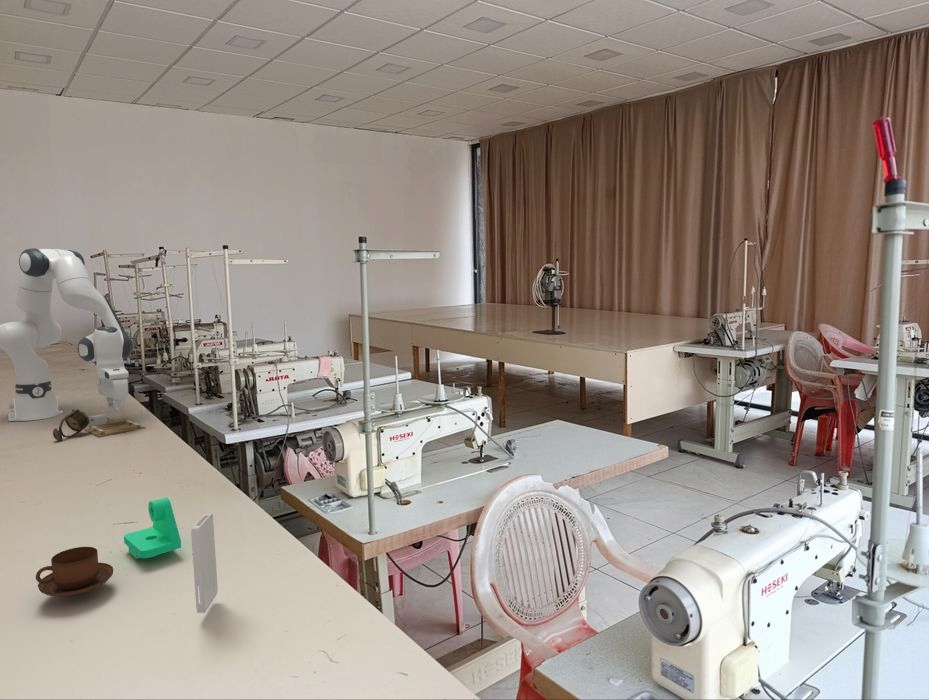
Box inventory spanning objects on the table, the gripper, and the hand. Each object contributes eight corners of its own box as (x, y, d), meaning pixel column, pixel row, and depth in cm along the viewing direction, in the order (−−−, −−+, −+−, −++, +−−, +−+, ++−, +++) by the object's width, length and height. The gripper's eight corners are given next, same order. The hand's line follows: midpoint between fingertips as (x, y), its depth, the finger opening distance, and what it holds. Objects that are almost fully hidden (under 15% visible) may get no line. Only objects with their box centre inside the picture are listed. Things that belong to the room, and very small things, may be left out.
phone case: (210, 593, 118) (205, 512, 116) (218, 592, 118) (213, 512, 116) (196, 614, 111) (190, 529, 109) (204, 614, 111) (198, 528, 109)
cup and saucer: (61, 609, 113) (58, 575, 112) (25, 592, 119) (22, 560, 118) (127, 580, 123) (125, 549, 123) (91, 566, 129) (88, 536, 129)
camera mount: (123, 546, 139) (119, 500, 138) (160, 536, 144) (157, 491, 143) (142, 564, 130) (138, 514, 129) (181, 552, 136) (178, 504, 134)
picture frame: (84, 432, 240) (84, 426, 240) (130, 424, 251) (130, 418, 251) (98, 438, 230) (98, 432, 229) (146, 430, 241) (145, 424, 241)
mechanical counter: (95, 433, 237) (93, 406, 236) (71, 443, 224) (68, 414, 223) (76, 433, 238) (74, 406, 236) (51, 443, 225) (48, 414, 224)
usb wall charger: (89, 426, 249) (88, 416, 248) (107, 422, 255) (106, 412, 254) (95, 427, 247) (95, 417, 247) (113, 423, 253) (112, 413, 253)
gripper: (91, 370, 243) (95, 406, 244) (111, 375, 229) (114, 414, 230) (110, 368, 247) (113, 404, 249) (130, 372, 233) (133, 411, 235)
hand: (114, 409), depth 239 cm, fingers open, 4 cm apart
